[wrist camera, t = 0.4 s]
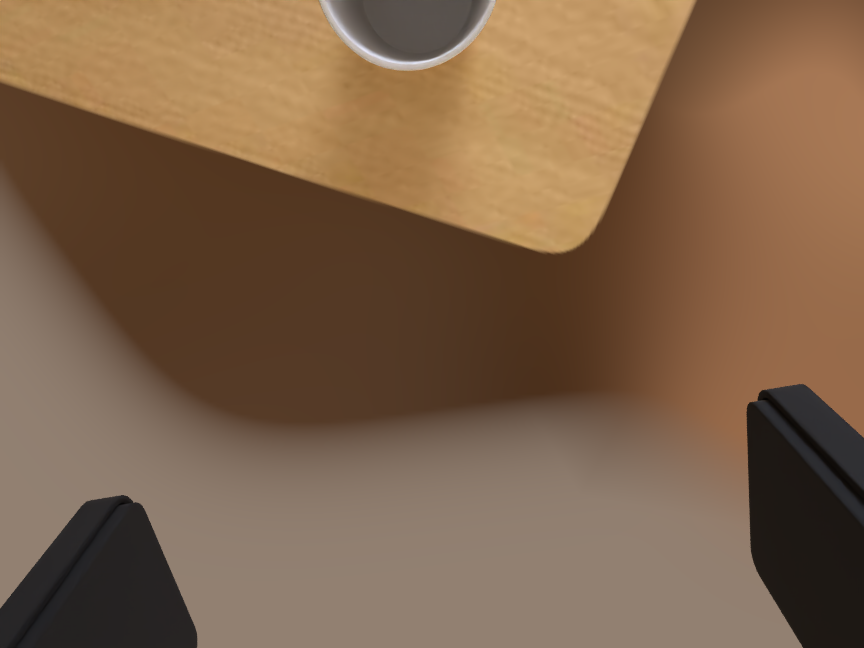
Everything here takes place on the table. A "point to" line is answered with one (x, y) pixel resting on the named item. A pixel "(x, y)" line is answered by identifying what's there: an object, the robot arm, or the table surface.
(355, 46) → the mug
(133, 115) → the table surface
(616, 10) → the table surface
